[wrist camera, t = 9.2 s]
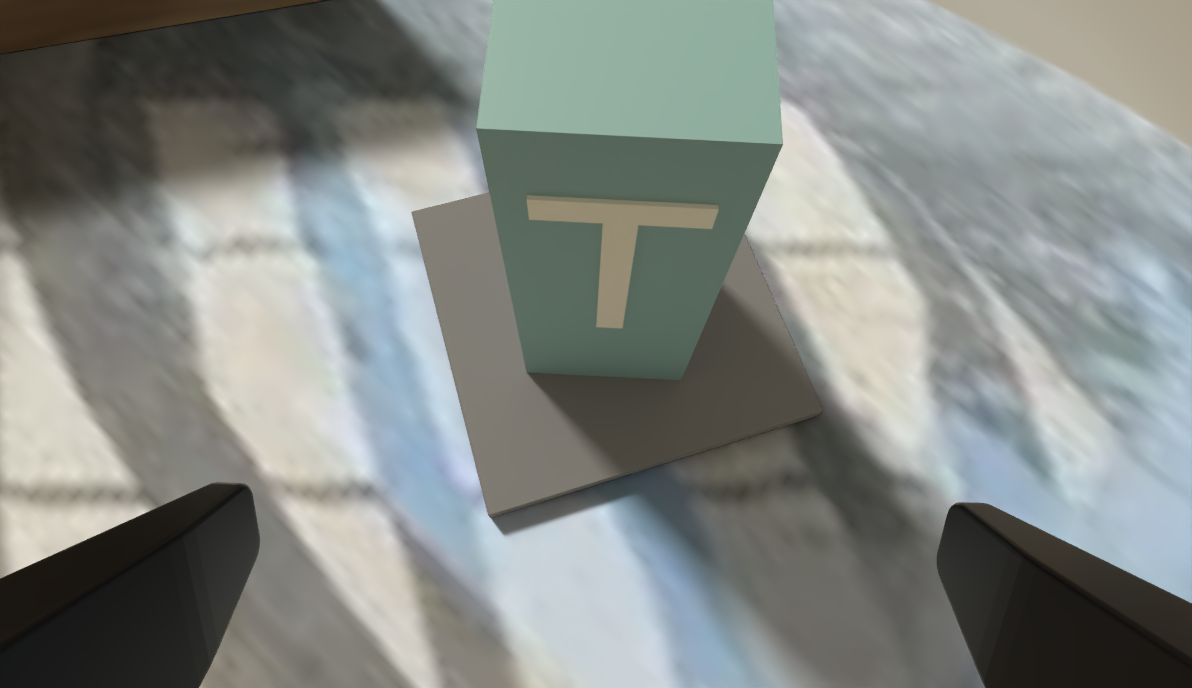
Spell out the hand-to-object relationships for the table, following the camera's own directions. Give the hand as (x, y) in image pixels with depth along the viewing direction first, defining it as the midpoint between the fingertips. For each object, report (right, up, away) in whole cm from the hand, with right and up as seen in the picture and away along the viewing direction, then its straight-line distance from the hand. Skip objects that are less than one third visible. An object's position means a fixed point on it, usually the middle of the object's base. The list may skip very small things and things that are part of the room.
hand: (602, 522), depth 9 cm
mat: (0, +3, +15) cm, 15 cm away
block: (0, +4, +14) cm, 15 cm away
